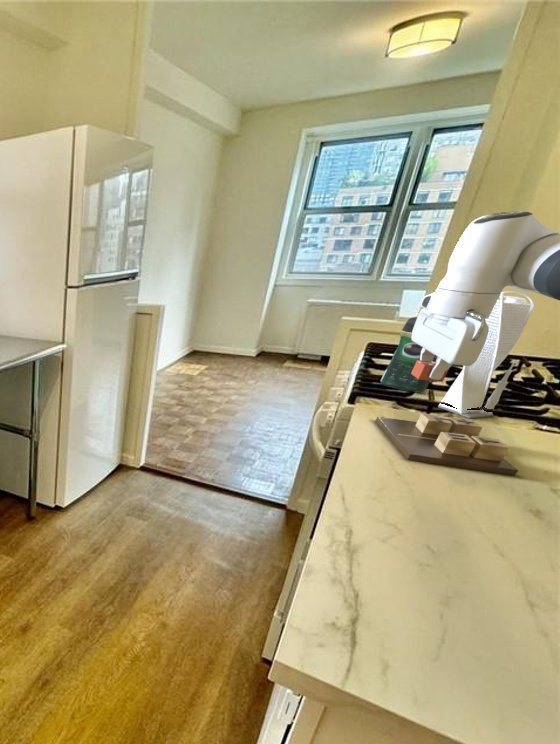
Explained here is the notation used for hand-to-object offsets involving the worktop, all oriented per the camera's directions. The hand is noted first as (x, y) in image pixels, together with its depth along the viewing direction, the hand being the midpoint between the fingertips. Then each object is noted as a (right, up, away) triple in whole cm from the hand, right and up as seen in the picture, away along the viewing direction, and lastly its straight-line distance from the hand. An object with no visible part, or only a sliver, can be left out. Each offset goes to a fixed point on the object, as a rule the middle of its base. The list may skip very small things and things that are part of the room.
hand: (428, 374), depth 99 cm
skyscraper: (+25, -6, +18) cm, 31 cm away
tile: (+1, -16, -4) cm, 16 cm away
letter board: (+3, -15, +1) cm, 15 cm away
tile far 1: (+5, -17, -6) cm, 18 cm away
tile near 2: (+5, -12, +4) cm, 13 cm away
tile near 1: (+9, -12, +3) cm, 16 cm away
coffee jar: (+24, +1, +32) cm, 40 cm away
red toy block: (0, -1, 0) cm, 1 cm away
